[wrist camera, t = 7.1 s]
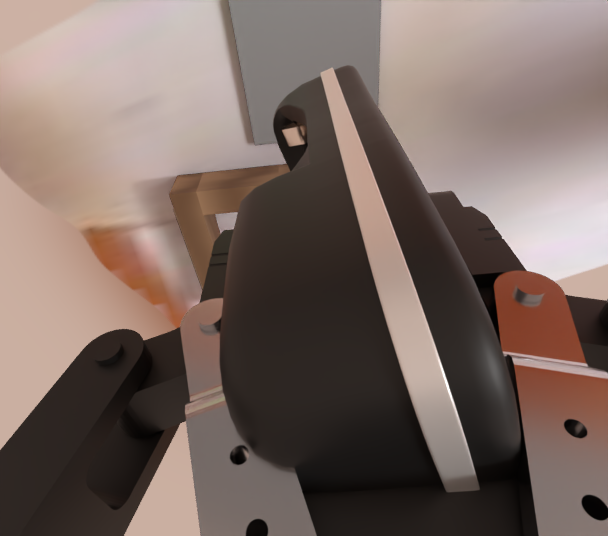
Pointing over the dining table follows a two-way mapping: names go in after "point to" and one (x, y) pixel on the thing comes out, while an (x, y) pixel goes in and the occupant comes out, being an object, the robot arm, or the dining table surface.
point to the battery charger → (359, 315)
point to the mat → (301, 49)
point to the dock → (212, 205)
